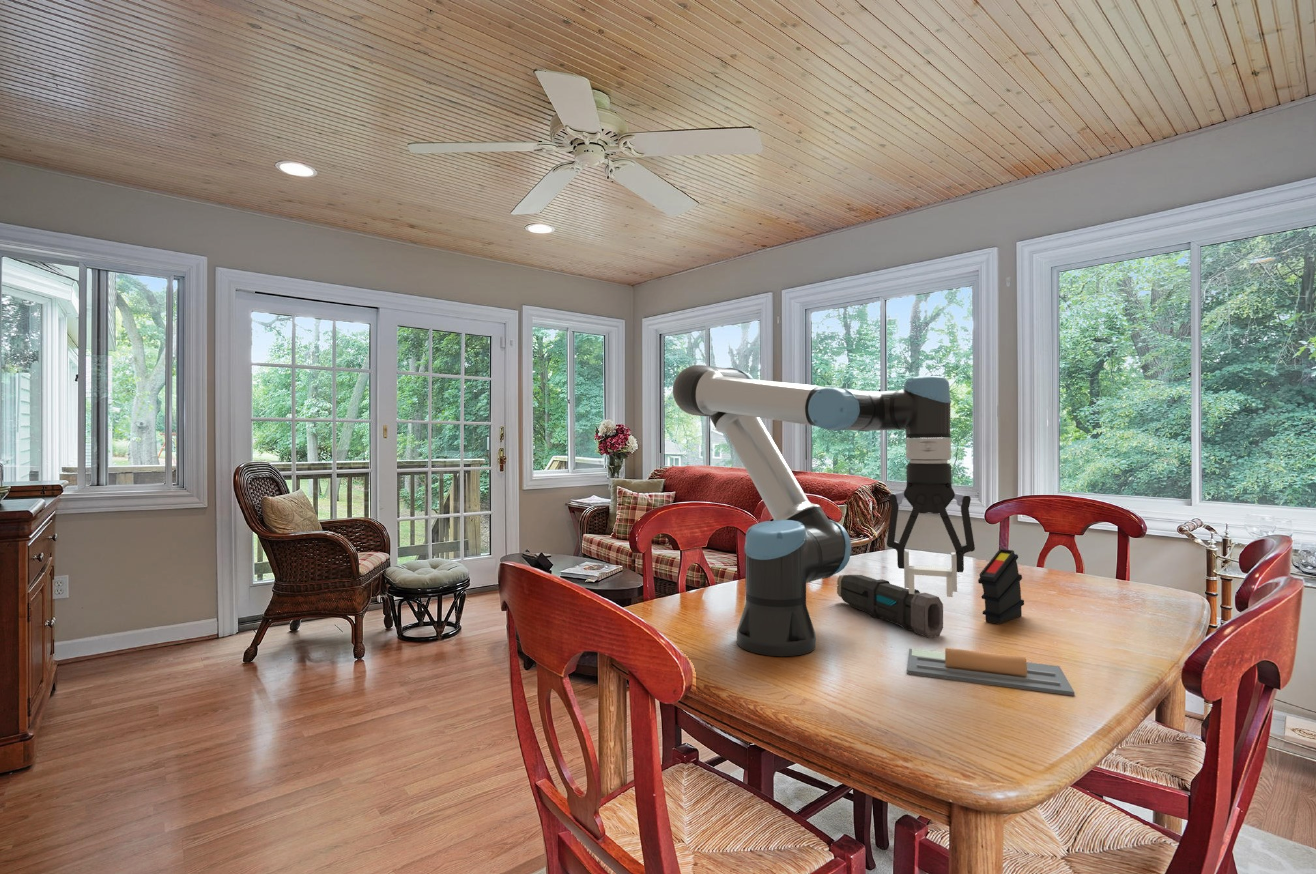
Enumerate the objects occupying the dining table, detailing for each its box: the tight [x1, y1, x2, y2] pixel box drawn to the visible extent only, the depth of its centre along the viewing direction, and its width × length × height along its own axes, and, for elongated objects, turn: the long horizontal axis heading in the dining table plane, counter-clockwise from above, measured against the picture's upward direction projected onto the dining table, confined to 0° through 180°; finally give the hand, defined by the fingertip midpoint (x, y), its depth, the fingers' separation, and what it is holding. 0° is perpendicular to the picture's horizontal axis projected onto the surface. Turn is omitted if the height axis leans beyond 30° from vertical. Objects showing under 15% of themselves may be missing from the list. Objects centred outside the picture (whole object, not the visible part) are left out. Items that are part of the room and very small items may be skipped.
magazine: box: [977, 548, 1025, 625], centre depth 138 cm, size 4×13×15 cm, turn 127°
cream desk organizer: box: [908, 565, 954, 598], centre depth 114 cm, size 3×7×4 cm, turn 67°
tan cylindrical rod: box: [944, 647, 1028, 677], centre depth 106 cm, size 12×3×3 cm, turn 67°
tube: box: [836, 574, 944, 638], centre depth 140 cm, size 11×7×30 cm
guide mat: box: [906, 648, 1075, 697], centre depth 107 cm, size 24×12×1 cm, turn 67°
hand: (930, 588), depth 114 cm, fingers closed on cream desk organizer, 7 cm apart
